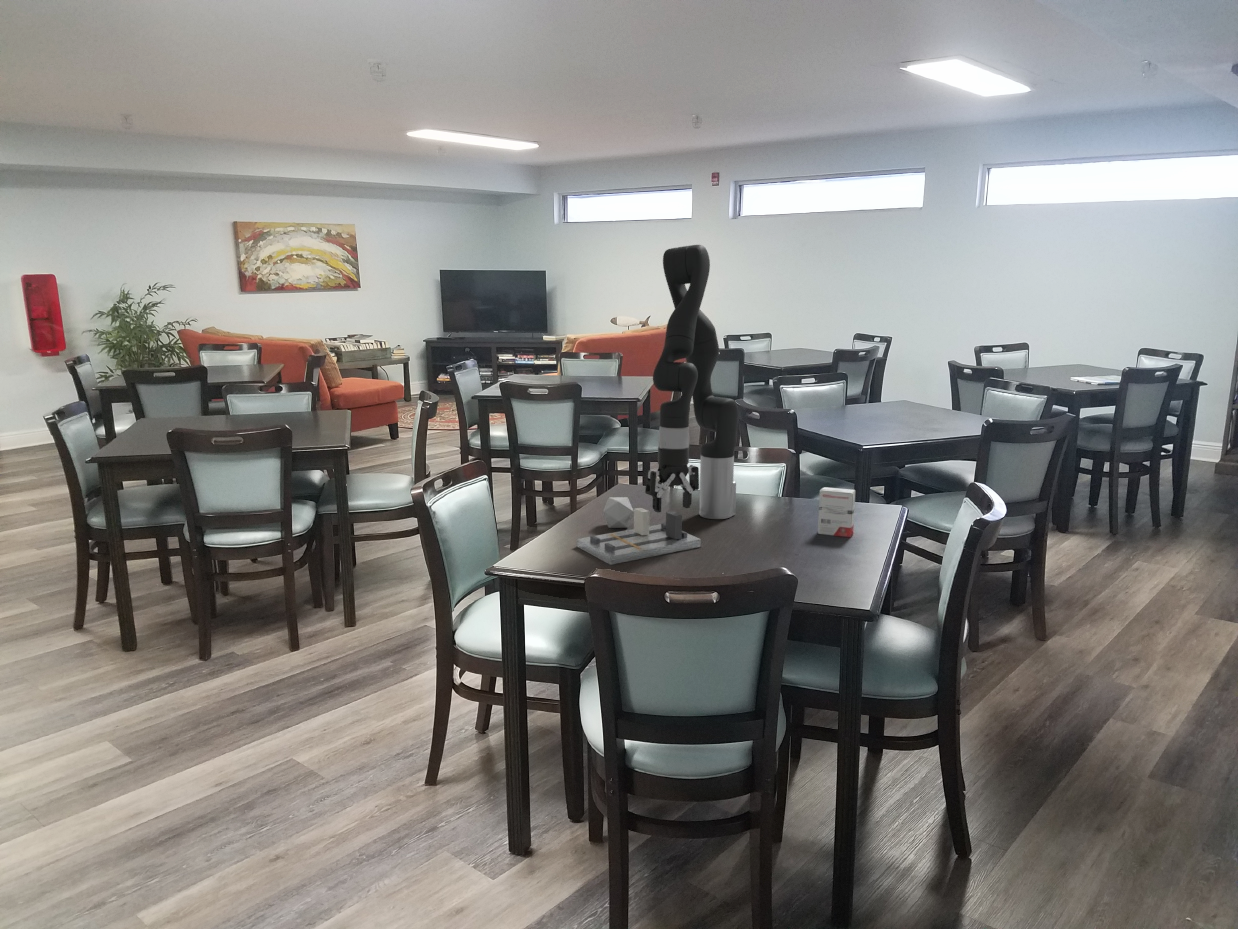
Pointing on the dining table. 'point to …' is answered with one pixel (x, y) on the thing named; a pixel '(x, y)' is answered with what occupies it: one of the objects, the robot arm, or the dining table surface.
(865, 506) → the dining table surface
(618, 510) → the die
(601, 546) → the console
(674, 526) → the fader near
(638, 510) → the block
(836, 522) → the ink box
